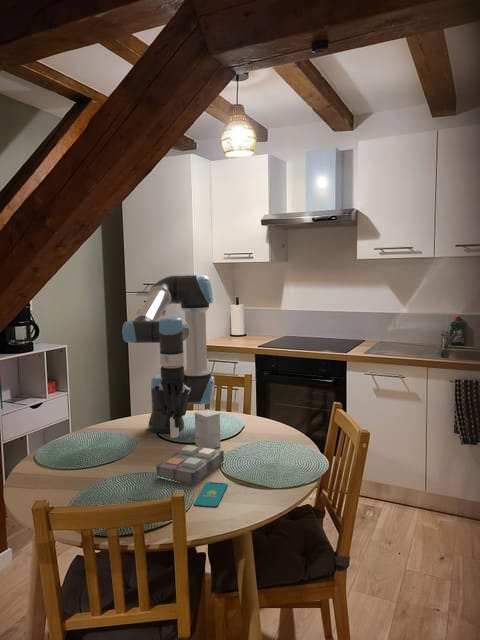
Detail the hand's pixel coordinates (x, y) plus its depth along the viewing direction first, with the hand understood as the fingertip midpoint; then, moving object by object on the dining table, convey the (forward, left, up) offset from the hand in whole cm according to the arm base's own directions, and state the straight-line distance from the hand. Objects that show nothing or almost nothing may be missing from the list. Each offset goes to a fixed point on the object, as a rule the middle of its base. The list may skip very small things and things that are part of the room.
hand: (174, 436), depth 158 cm
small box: (-3, +26, -13) cm, 29 cm away
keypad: (+3, +4, -13) cm, 14 cm away
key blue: (+7, 0, -10) cm, 12 cm away
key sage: (0, +9, -10) cm, 13 cm away
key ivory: (+7, +9, -10) cm, 15 cm away
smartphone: (+18, -9, -13) cm, 24 cm away
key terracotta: (0, 0, -11) cm, 11 cm away
